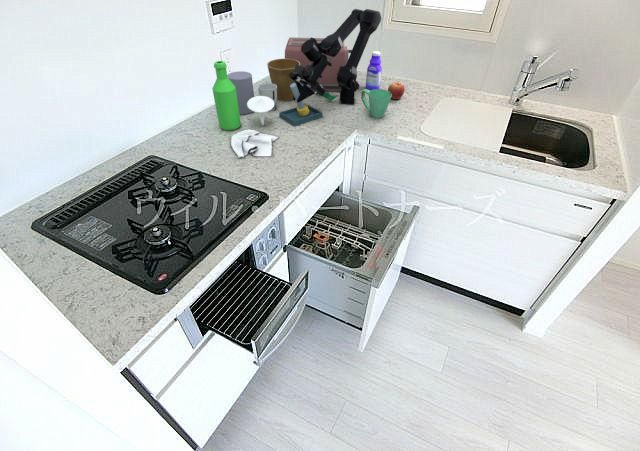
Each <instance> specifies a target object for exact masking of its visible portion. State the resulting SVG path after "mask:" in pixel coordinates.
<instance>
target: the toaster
mask: <svg viewBox="0 0 640 451" xmlns="http://www.w3.org/2000/svg"><path fill="white" fill-rule="evenodd" d="M310 38H311V37H293V36H292V37H288V39H287V42H286V45H285V48H284V59H294V60H297V61H299V62H300V66H303V67H305V66H307V65H309V66H310V65H311V63H312V62H311V61H309V60H308V58H307V57H306V56H305V55H304V54H303V53H302V51H301V46H302V44H303V43H305V42H306V41H307V40H310ZM314 38H315V40H316V41H317V43H320V42H322V40H323V39H325V38H326V37H314ZM351 51H352V49H348V46H346V45H345V41H344V42H343V43H342V48H341V50H340V51H339V53H338V54H337V55H336V56H335V57H331V56H328V55H326V57H327V58H329V59H331V63H332V66H328V65H327V66H326V68H325V69H324V71H323V72H322V74H321V75H322V78H319V79H318V80H317V82H318V83H320V84H321V85H322V87H323V88H324V89H325V92H334V93H335V92H338V93H340V90H342V88H341V87H339V85H338V82H337V73H338V72H339V69H340V67H341V66H343V67H344V66H345V65H346V64H347V61H348V59H349V56H350V54H351ZM322 54H323V53H322ZM324 55H325V54H324ZM302 78H303V77H302ZM305 83H306V82H305Z"/></svg>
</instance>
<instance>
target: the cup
mask: <svg viewBox="0 0 640 451" xmlns="http://www.w3.org/2000/svg"><path fill="white" fill-rule="evenodd" d="M257 89H258V94H259V95H258V96H266V97H269V98H271V99H272V100H273V101H274V107H273V108H272V109H271V110H269V111H268V112H273V111H275V110H276V106H277V101H278V97H277V85H275V84H272V82H267V83H266V82H265V83H261V84H258V86H257Z"/></svg>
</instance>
